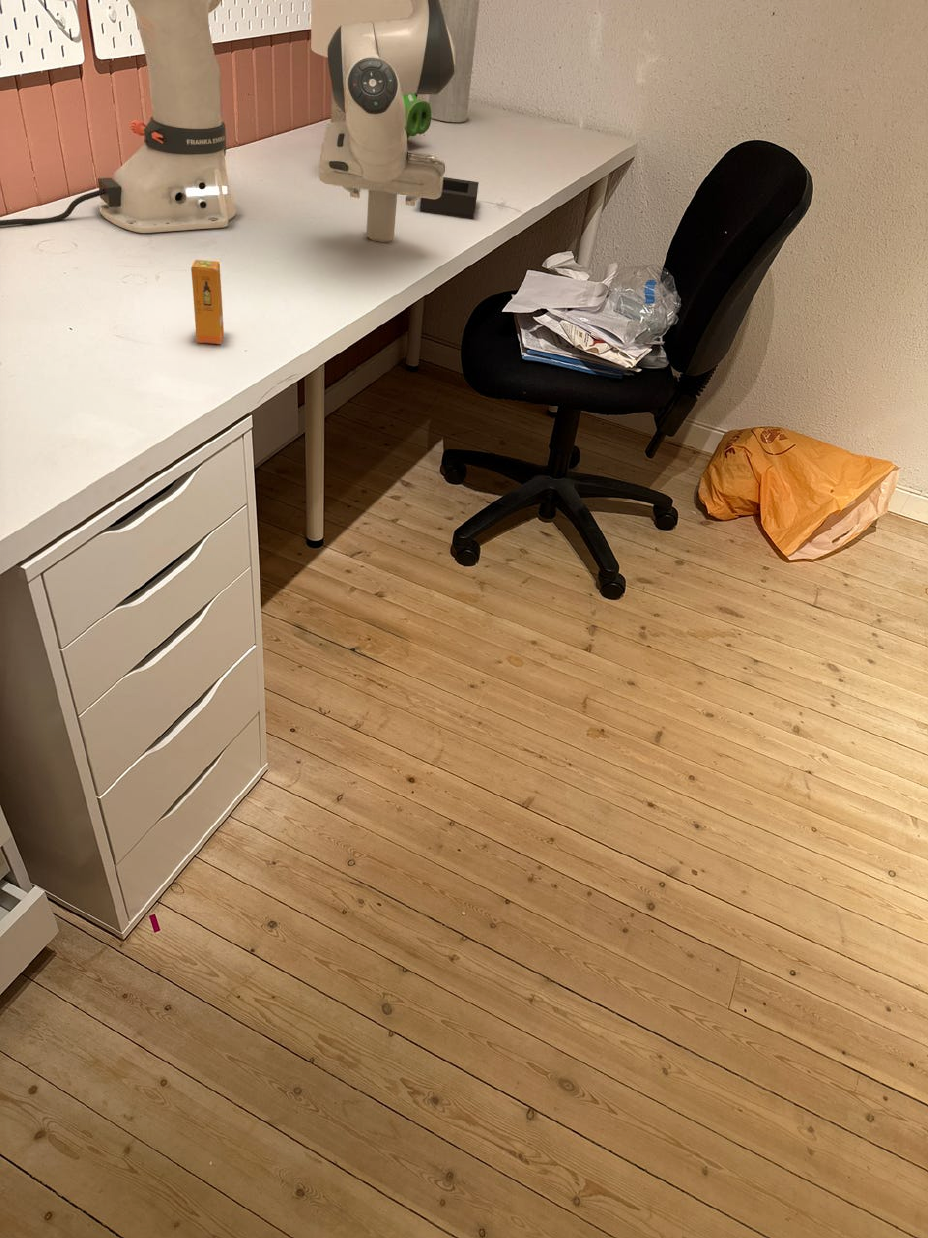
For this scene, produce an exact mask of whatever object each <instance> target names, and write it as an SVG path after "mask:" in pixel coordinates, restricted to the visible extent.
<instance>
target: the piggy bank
mask: <svg viewBox="0 0 928 1238" xmlns="http://www.w3.org/2000/svg"><path fill="white" fill-rule="evenodd" d="M418 95H419V94H407V95H403V97H404V103H405V111H406V126H405V130H406V135H407V140H408V139H409V137H415V136H417V135H423V134H425V133H426V132H427V131H429V129H430V127H431V123H432V118H431V106H430V104H429V103H428V102H429V101H427V100H425V99H418Z"/></svg>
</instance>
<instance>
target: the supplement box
mask: <svg viewBox="0 0 928 1238" xmlns="http://www.w3.org/2000/svg"><path fill="white" fill-rule="evenodd" d="M190 272H191V282H192V295H193V309H194V324H195V340H196V343H198V344H199V343H201V344H213V345H214V344H215V345H222V342H223V339H224V336H225V330H224V329H225V328H224V313H223V311H224V309H223V295H222V279H221V277H222V276H221V266H220V261H217V260H202V259H195V260H194V261H193V263H192V265H191V267H190Z"/></svg>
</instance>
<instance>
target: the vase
mask: <svg viewBox="0 0 928 1238" xmlns="http://www.w3.org/2000/svg"><path fill="white" fill-rule="evenodd" d="M439 2H440V5H441V9H442V13H443V16H444V20H445V22H446V25H447V27H448V30H449V32H450V35H451V38H452V42H453V46H454V51H455V68H454V75H453V76H452V78H451V80H450V81H449V82H448V84H447V85H446V86H445V87H444V88H443V89H442V90H441V91H440V92H439V93H438V94H428V101H427V102H428V103H429V104H430V106H431V120H432V119H433V120H435V121H439V122H444V123H453V124H458V123H464V122H466V121H467V117H468V110H469V109H468V108H469V100H470V91H471V81H472V72H473V65H474V55H475V48H476V47H475V46H476V37H477V27H478V18H479V11H480V10H479V9H480V0H439Z"/></svg>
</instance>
